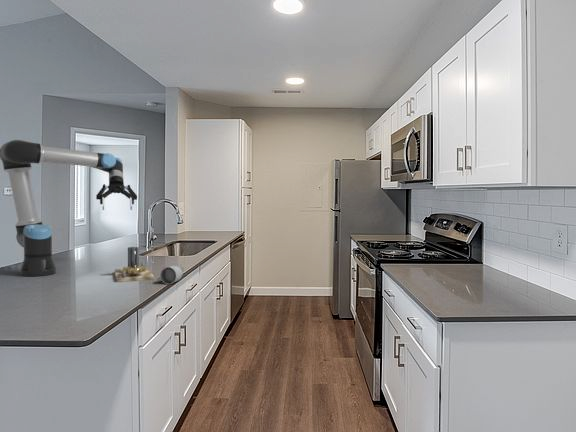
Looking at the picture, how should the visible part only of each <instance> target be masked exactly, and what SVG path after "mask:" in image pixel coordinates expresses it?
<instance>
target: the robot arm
mask: <svg viewBox="0 0 576 432" xmlns="http://www.w3.org/2000/svg"><path fill="white" fill-rule="evenodd" d="M0 161H1V162H2V166H3V170H4V172H6V173H7V174H8V177H9V184H10V186H11V187H10V188H11V191H12V198H13V202H14V207H15V212H16V216H17V222H16V224H15V231H16V241H17V243H18V244H19V246H20V247H22V248H23V261H22V264H21V267H20V270H19V275H20V276H22V277H41V276H42V277H43V276H49V275H53V274H57V266H56V265H55V262H54V259H53V254H52V253H53V245H52V243H53V242H52V241H53V240H52V239H53V237H52V236H53V231H52V228H51V226H50V225H48V224H46V225H45V224H43V221H42V220H41V219H39V218H38V213H37V212H38V211H37V207H36V202H35V196H34V192H33V188H32V187H33V186H32V182H31V176H30V170H31V169H32V164H38V165H39V164H40V163H48V164H49V163H50V164H60V165H70V166H71V165H72V166H81V167H82V166H83V167H90V168H94V169H97V170H100V171H103V172H106V173H108V185H106V184H104V183H103V184H102V187H101V189H100V190H99V191H98V192H97V194H96V195H95V196H96V197H95V199H96V200H99V204H100V205H102V210H103V211H104V210H105V199H106V198H107V197H108V196H110V195H112V194H121V195H124V196H125V197H126V198H127V199H129V206H130V207H129V208H130V211H132V210H133V205H134V204H135V201H136V200H138V195H137V194H136V192H135V191H134V190H133V189H132V188H131V184H128V185H126V186H125V184H124V183H125V182H124V166H123V160H121V159H120V158H118V157H115V155H113V153H110V152H109V153H108V152H106V153H104V152H103V153H102V152H95V151H85V150H78V149H77V150H76V149H69V148H60V147H55V146H54V147H52V146H44V145H42V144H41V143H36V142H33V141H32V142H31V141H27V140H20V139H13V140H10V141H7V142H5V143H3V145H1V147H0ZM107 189H108V190H107Z"/></svg>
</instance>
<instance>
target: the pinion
mask: <svg viewBox="0 0 576 432" xmlns="http://www.w3.org/2000/svg"><path fill="white" fill-rule="evenodd" d="M139 249H140V248H139V247H138V246H129V247H127V267H128V266H133V265H136V266H140V262H139V261H140V259H139V258H140V256H139V255H140V251H139Z"/></svg>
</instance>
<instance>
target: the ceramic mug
mask: <svg viewBox="0 0 576 432" xmlns="http://www.w3.org/2000/svg"><path fill="white" fill-rule="evenodd" d="M159 275H160V276H159V277H158V278H157V279H156V281H157V283H160V282H162V283H163V284H166V285H172V284H175V283H176V282H178V281H179V280H181V278H182V276H183V271H182V268H181V267H179V266H177V265H170V266H165V267H164V268H162V270H161V272H160V274H159Z"/></svg>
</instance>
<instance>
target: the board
mask: <svg viewBox="0 0 576 432" xmlns="http://www.w3.org/2000/svg"><path fill="white" fill-rule="evenodd" d="M140 266H145V262H140ZM114 275H115V280H116V283H122V282H123V283H125V282H139V281H141V282H142V281H153V280H155V276H154V274H153V273H152V271H151V269H150V268H149V267H146V271H145V272H141V273H140V272H138V276H131V273H126V271H123V268H117V269H116V268H115V269H114Z"/></svg>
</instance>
